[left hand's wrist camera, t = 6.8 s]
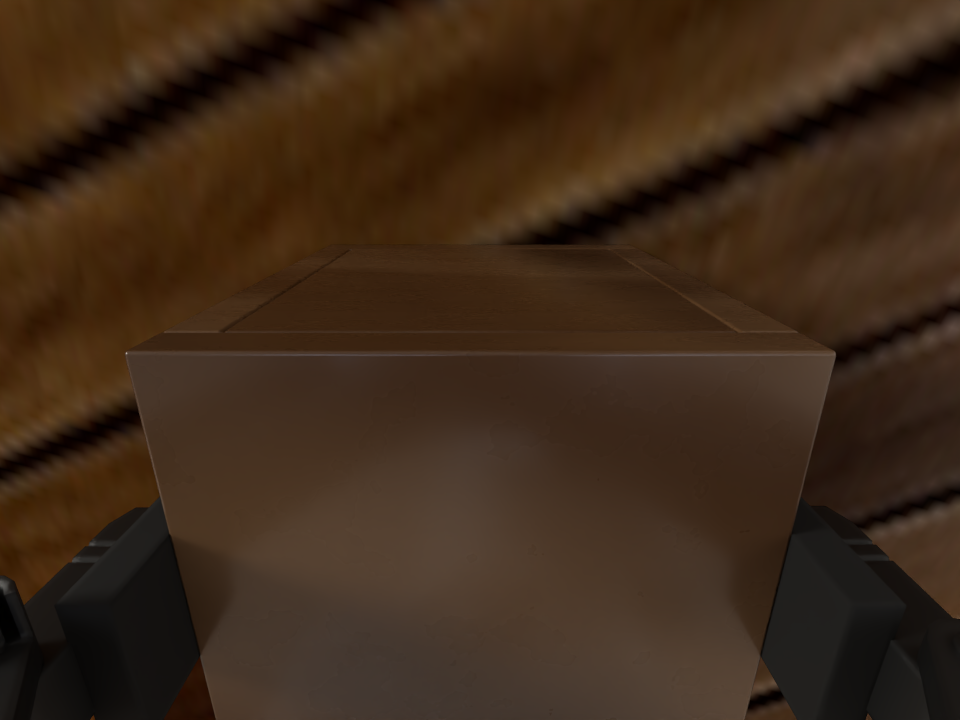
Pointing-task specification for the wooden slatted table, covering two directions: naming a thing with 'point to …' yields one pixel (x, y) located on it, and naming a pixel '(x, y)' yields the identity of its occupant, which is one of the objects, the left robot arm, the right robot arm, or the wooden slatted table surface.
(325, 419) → the brown box
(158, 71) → the wooden slatted table surface
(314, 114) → the wooden slatted table surface
